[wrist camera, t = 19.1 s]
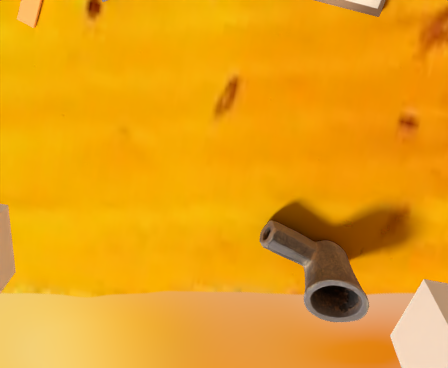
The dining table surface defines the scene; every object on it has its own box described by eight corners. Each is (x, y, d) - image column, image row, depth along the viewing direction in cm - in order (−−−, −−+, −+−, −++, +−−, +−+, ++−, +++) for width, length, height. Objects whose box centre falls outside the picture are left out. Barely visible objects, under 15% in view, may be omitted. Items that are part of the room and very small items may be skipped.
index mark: (35, 27, 38) (33, 27, 38) (19, 18, 38) (17, 19, 38) (43, -4, 37) (41, -4, 37) (26, -13, 37) (24, -13, 36)
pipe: (279, 203, 46) (283, 247, 39) (366, 252, 49) (384, 301, 42) (250, 238, 49) (249, 285, 42) (334, 282, 52) (346, 333, 45)
